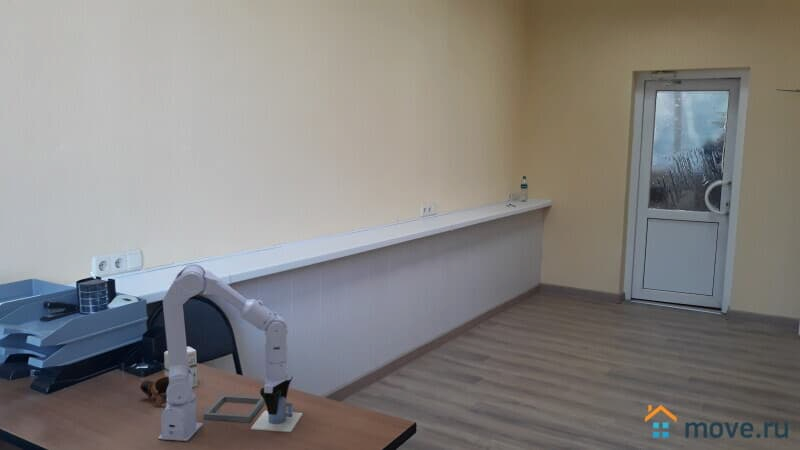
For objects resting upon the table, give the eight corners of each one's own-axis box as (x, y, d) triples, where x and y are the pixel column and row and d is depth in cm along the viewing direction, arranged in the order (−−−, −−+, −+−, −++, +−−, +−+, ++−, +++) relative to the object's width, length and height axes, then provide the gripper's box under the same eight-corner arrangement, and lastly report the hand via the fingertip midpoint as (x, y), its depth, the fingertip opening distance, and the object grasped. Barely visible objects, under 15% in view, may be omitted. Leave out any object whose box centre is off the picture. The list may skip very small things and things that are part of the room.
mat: (291, 432, 166) (291, 430, 166) (250, 429, 168) (250, 427, 168) (302, 414, 177) (302, 412, 177) (264, 411, 178) (264, 410, 178)
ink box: (171, 393, 191) (170, 355, 189) (164, 388, 194) (163, 351, 193) (198, 385, 197) (197, 349, 195) (191, 381, 200) (189, 345, 199)
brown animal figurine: (184, 393, 192) (186, 376, 187) (173, 419, 184) (175, 401, 179) (144, 385, 191) (145, 366, 186) (131, 410, 183) (133, 391, 178)
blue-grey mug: (265, 423, 170) (265, 402, 170) (271, 415, 175) (271, 395, 174) (289, 425, 169) (289, 403, 169) (294, 417, 174) (294, 396, 173)
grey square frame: (249, 422, 172) (249, 417, 172) (203, 419, 173) (203, 414, 173) (265, 402, 185) (265, 397, 184) (222, 400, 186) (222, 395, 186)
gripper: (282, 370, 162) (283, 420, 164) (298, 352, 177) (298, 398, 178) (256, 369, 163) (257, 418, 165) (274, 350, 178) (274, 396, 179)
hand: (277, 408), depth 172 cm, fingers open, 7 cm apart
